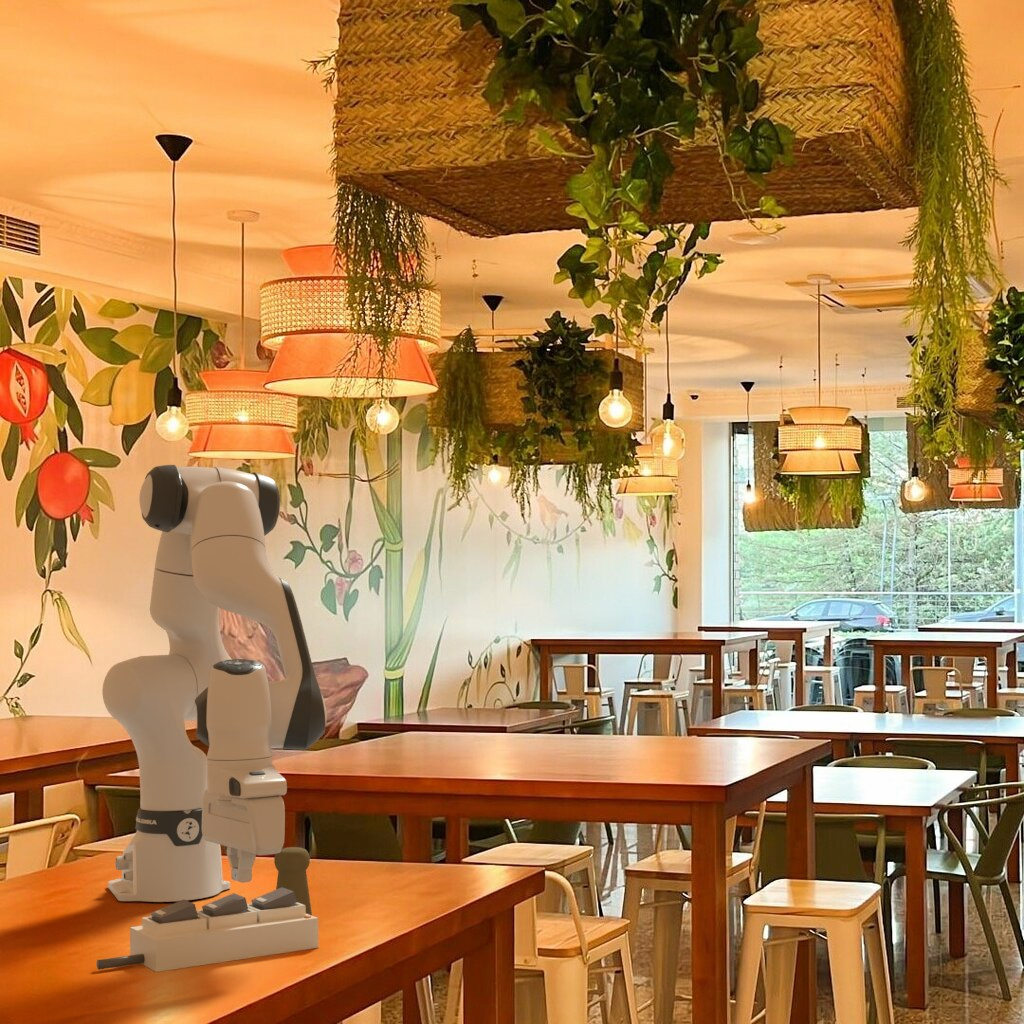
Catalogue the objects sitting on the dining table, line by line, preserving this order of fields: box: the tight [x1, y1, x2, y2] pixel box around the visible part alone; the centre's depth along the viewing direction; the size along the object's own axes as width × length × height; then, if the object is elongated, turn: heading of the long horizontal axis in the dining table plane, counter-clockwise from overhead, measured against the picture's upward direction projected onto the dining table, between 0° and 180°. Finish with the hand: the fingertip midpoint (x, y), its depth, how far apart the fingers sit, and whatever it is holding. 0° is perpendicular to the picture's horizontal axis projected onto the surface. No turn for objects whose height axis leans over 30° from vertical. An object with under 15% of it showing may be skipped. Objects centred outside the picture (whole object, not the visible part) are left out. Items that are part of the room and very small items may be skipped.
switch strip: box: [96, 902, 319, 973], centre depth 208 cm, size 10×29×6 cm, turn 123°
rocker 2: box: [201, 893, 248, 917], centre depth 209 cm, size 4×5×2 cm
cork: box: [273, 846, 313, 916], centre depth 228 cm, size 6×6×11 cm
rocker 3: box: [251, 887, 297, 910], centre depth 213 cm, size 4×5×2 cm
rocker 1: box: [150, 900, 198, 924], centre depth 206 cm, size 4×5×2 cm
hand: (241, 881), depth 211 cm, fingers closed
